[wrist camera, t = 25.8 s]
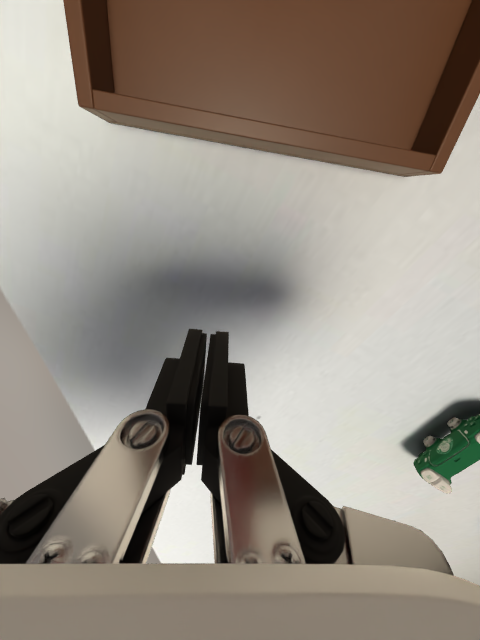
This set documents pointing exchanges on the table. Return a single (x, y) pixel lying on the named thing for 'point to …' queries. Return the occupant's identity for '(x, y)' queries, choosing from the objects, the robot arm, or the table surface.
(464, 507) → the table surface
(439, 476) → the gaming controller
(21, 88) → the table surface
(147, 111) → the tray
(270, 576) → the robot arm
